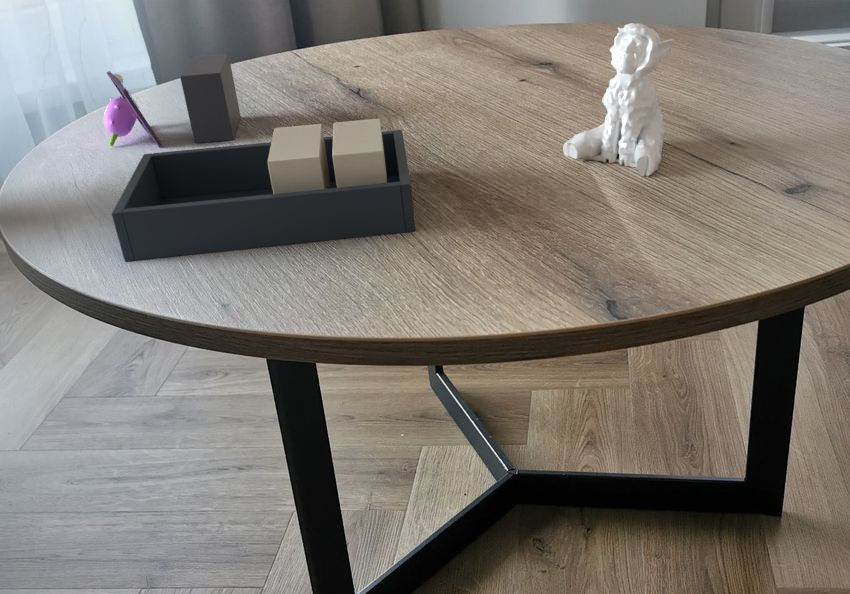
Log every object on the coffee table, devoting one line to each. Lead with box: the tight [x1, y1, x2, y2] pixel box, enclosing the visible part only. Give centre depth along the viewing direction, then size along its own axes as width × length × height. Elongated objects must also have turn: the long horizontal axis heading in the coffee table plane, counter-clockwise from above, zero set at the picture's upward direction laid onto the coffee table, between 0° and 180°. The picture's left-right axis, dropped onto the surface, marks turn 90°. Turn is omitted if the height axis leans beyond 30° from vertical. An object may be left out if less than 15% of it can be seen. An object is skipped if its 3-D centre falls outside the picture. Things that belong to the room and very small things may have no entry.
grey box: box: [179, 53, 242, 144], centre depth 102 cm, size 4×8×7 cm, turn 8°
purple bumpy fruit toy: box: [103, 71, 163, 148], centre depth 100 cm, size 7×5×9 cm
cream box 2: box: [332, 118, 388, 188], centre depth 80 cm, size 4×8×6 cm, turn 8°
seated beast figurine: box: [562, 22, 675, 177], centre depth 87 cm, size 10×9×12 cm
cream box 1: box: [268, 123, 331, 194], centre depth 80 cm, size 4×8×6 cm, turn 8°
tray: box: [111, 129, 416, 263], centre depth 80 cm, size 23×14×5 cm, turn 98°
